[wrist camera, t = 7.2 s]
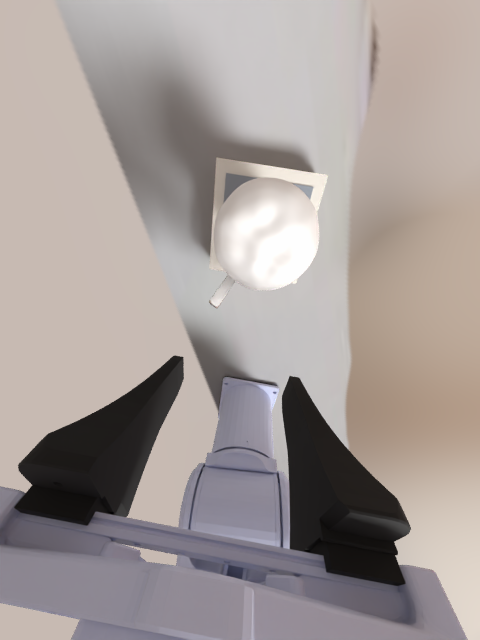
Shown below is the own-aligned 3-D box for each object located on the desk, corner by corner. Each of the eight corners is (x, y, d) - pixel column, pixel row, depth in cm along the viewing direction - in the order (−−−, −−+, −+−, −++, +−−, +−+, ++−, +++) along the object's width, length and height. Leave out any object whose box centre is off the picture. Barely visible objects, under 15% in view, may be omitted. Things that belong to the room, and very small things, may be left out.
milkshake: (218, 238, 16) (166, 267, 7) (264, 179, 14) (266, 123, 5) (256, 275, 17) (251, 338, 9) (305, 226, 15) (362, 245, 6)
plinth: (292, 275, 20) (296, 283, 17) (215, 262, 20) (209, 269, 18) (319, 180, 16) (328, 174, 13) (222, 165, 16) (216, 156, 14)
